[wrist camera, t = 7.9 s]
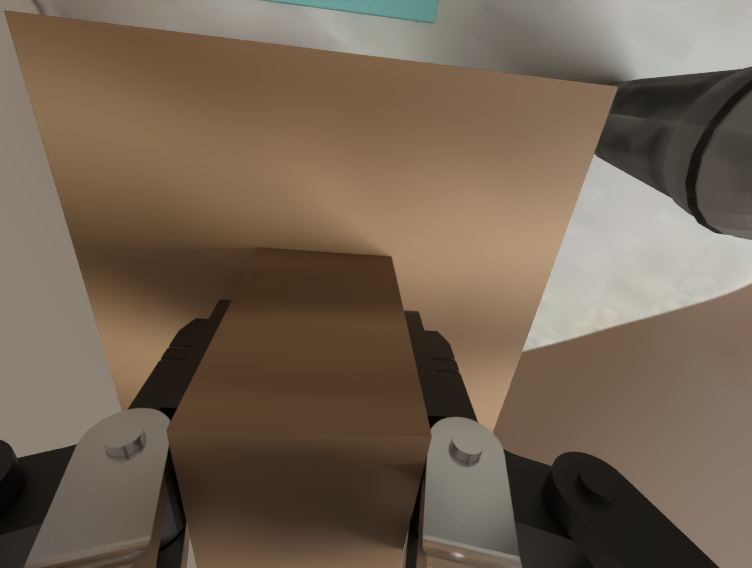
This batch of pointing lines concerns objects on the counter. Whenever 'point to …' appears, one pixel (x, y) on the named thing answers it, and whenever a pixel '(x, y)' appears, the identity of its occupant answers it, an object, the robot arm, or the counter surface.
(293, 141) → the lid
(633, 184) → the counter surface
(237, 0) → the counter surface
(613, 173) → the counter surface
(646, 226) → the counter surface
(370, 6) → the mat
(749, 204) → the beverage cup
